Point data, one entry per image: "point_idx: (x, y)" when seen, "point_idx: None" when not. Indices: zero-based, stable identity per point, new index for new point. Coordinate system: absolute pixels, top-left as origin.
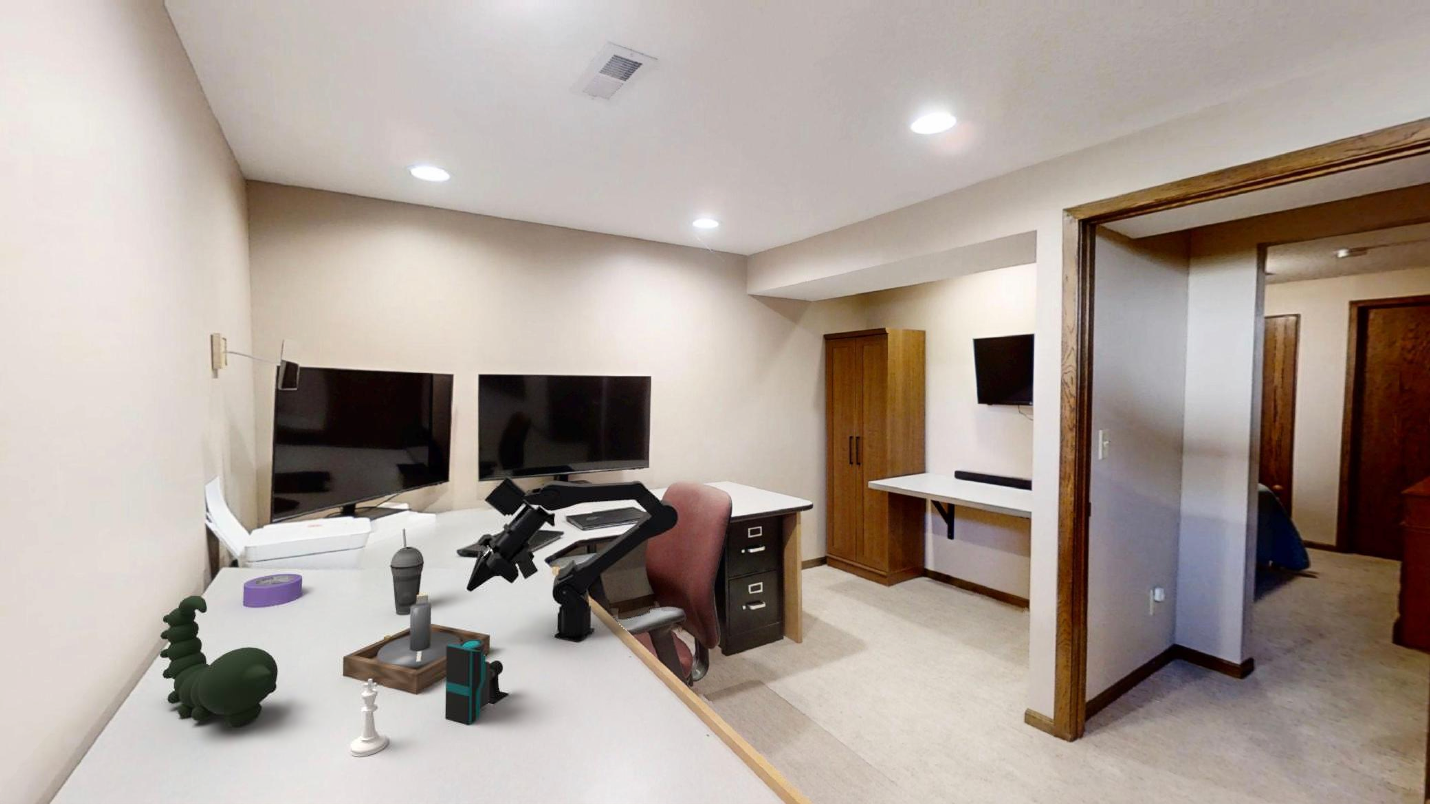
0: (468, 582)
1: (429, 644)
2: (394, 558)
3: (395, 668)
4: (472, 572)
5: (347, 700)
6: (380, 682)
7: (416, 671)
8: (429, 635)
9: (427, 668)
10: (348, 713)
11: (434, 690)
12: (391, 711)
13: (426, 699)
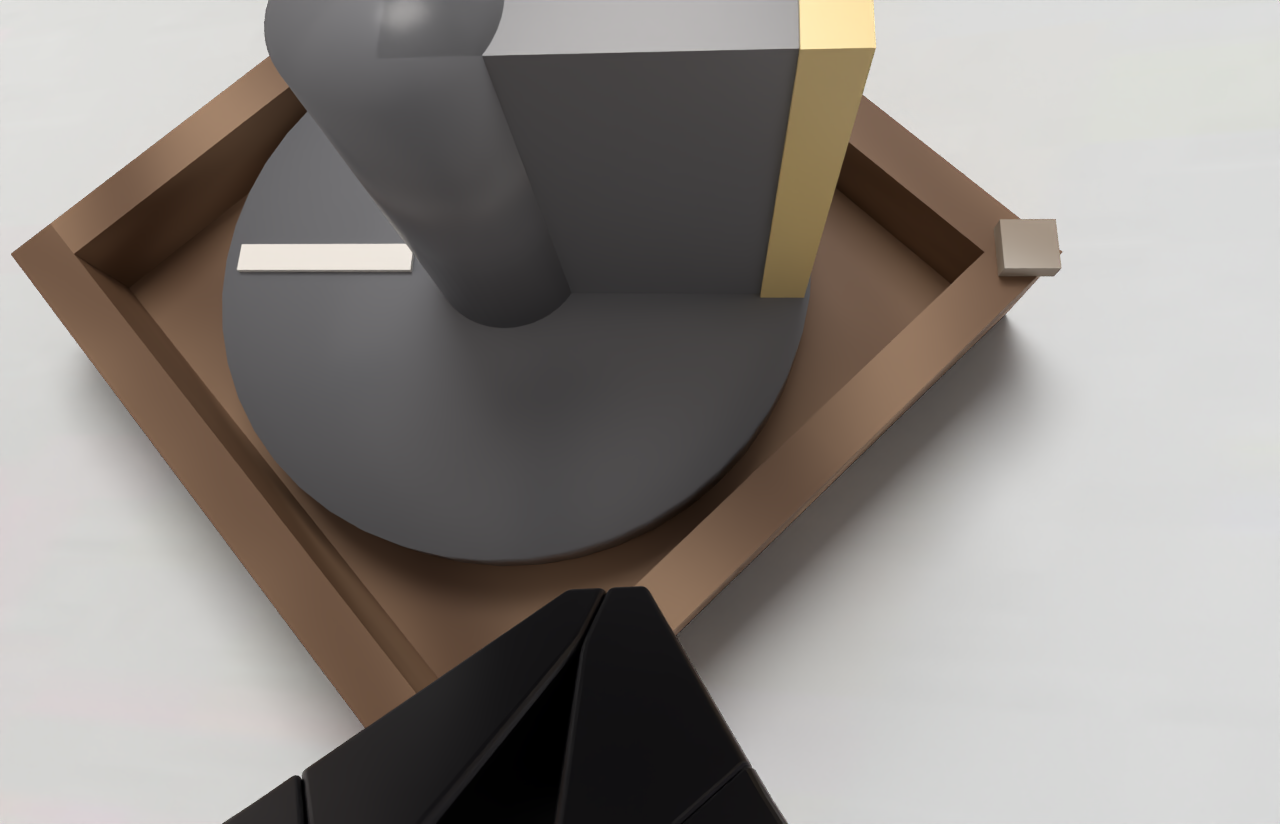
0: (652, 621)
1: (465, 312)
2: None
3: (184, 130)
4: (662, 744)
5: (251, 13)
6: None
7: (59, 251)
8: (442, 278)
9: (57, 314)
10: (110, 37)
11: (101, 403)
12: (3, 207)
13: (19, 363)
